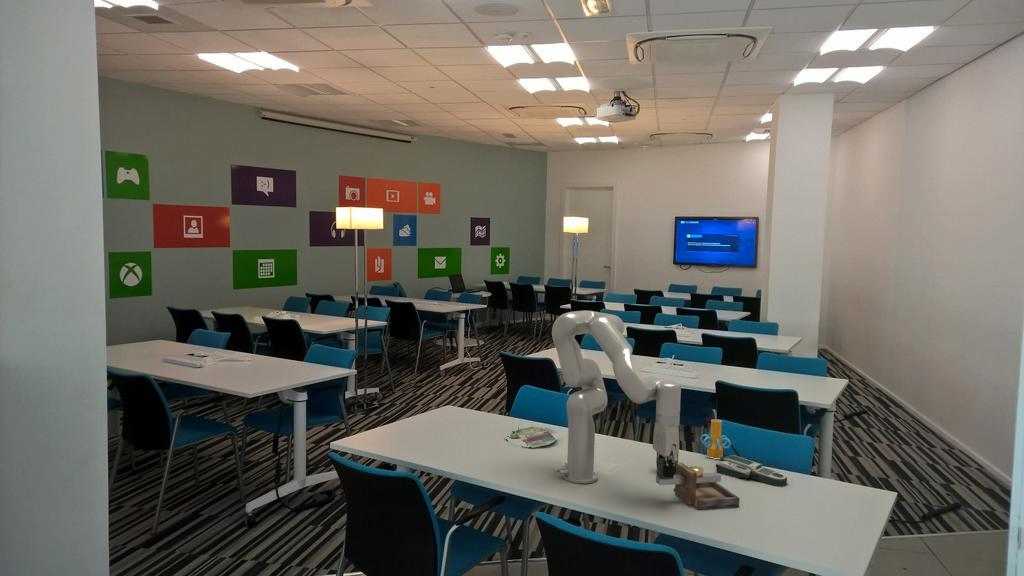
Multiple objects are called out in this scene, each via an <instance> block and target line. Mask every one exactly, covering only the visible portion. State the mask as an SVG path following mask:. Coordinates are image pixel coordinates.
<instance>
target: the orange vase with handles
mask: <svg viewBox="0 0 1024 576" xmlns="http://www.w3.org/2000/svg"><path fill="white" fill-rule="evenodd" d="M722 422H723V421H722V420H721V419H715V418H714V419H711V420H710V435H709V434H706V433H705V434H704V433H703V434H702V435H701V436H700V442H701V443H702V444H703V447H705V448H707V449H706V450H707V452H706V456H709V457H713V458H721V457H722V456H724V455H723V454H724V449H730V448H731V446H730V445H732V442H731V440H730V439H729V438H728V437H727V436H726V435H724V434H723V435H722ZM704 437H705V438H704ZM703 438H704V439H703ZM707 440H708V441H707ZM706 441H707V442H706ZM723 441H724V443H723ZM727 443H728V445H727ZM725 445H727V446H725ZM709 457H708V458H709Z"/></svg>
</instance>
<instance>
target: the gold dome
mask: <svg viewBox="0 0 1024 576" xmlns="http://www.w3.org/2000/svg"><path fill="white" fill-rule="evenodd" d="M689 468H690V469H692V470H693V471H695V472H696V473H697V478H702V477H703V473H704V468H703V467H702V466H698V465H696V466H695V465H692V466H690V467H689Z"/></svg>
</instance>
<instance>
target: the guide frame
mask: <svg viewBox="0 0 1024 576" xmlns="http://www.w3.org/2000/svg"><path fill="white" fill-rule="evenodd" d="M675 475H684V476H685V477H686V484H674V488H673V493H674V495H675V496H676V497H677V498H678V499H680V500H681V501H682V502H683V503H684V504H686V505H687V506H688V507H693V508H694V509H695V510H696V511H703V510H705V511H707V510H715V509H716V510H717V509H731V508H732V509H733V508H740V497H738V495H736V494H734V493H732V491H730V490H729V489H728V488H725V487H724V486H723V485H721V484H719V482H707V483H696V478H697V473H696V472H695V471H693V470H692V469H690V467H689V466H688V465H686V464H685V463H683V462H678V463H676V474H675Z"/></svg>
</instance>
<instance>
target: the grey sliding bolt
mask: <svg viewBox="0 0 1024 576" xmlns="http://www.w3.org/2000/svg"><path fill="white" fill-rule="evenodd" d="M656 458H657V457H656ZM670 459H671V458H668V461H669V460H670ZM664 465H666V464H665V457H660V458H657V465H656V476H655V483H656V484H658V485H659V486H669V485H670V486H672V485H674V486H675V484H686V477H685V476H684V475H676V474H675V475H674V476H673V477H669V478H665V477H664ZM707 482H717V483H721V482H722V474H720V473H718V472H706V473H705V472H703V477H702V478H696V483H707Z"/></svg>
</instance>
